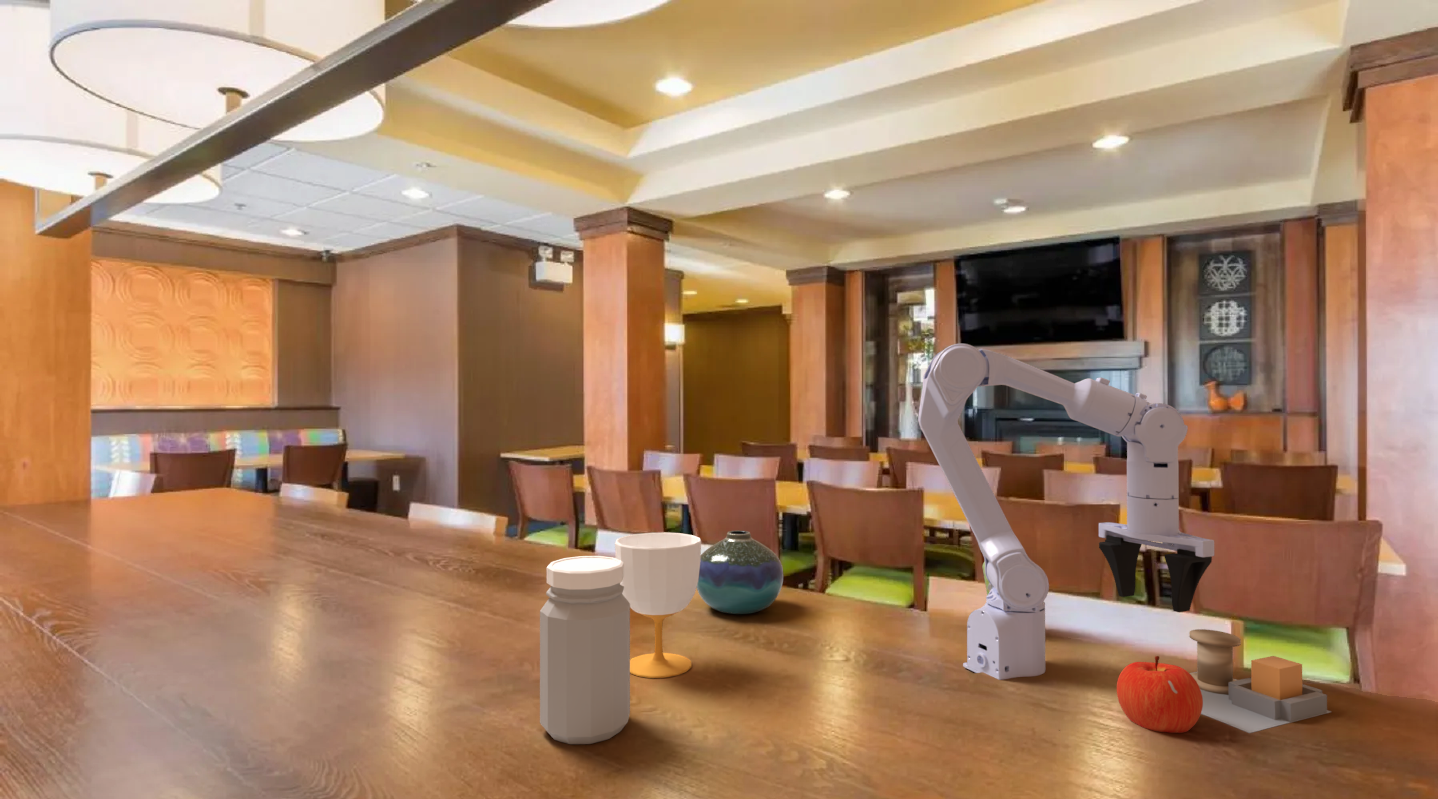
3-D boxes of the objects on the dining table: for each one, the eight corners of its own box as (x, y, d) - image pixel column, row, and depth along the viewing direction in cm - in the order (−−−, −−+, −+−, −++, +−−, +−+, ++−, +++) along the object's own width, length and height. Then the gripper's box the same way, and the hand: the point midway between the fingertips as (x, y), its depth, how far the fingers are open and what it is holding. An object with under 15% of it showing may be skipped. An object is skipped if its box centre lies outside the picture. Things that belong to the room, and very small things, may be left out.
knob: (1222, 697, 86) (1222, 645, 86) (1177, 680, 91) (1177, 631, 91) (1253, 690, 88) (1253, 639, 88) (1207, 674, 93) (1207, 626, 93)
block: (1279, 714, 81) (1279, 669, 81) (1251, 703, 84) (1251, 660, 84) (1302, 708, 83) (1302, 664, 83) (1273, 698, 86) (1273, 655, 86)
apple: (1217, 748, 75) (1216, 670, 75) (1132, 742, 76) (1131, 666, 76) (1182, 716, 83) (1181, 645, 83) (1105, 711, 84) (1105, 641, 84)
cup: (648, 646, 107) (648, 529, 107) (717, 660, 101) (717, 536, 101) (596, 671, 97) (596, 543, 97) (670, 688, 91) (670, 551, 91)
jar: (642, 713, 84) (642, 556, 84) (611, 752, 74) (611, 575, 74) (563, 705, 86) (563, 552, 86) (523, 743, 76) (523, 570, 77)
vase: (727, 593, 137) (727, 522, 137) (799, 606, 128) (799, 530, 128) (676, 612, 124) (676, 534, 125) (751, 628, 115) (751, 544, 116)
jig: (1249, 740, 77) (1249, 713, 77) (1130, 691, 90) (1130, 669, 90) (1332, 718, 82) (1332, 693, 82) (1208, 675, 95) (1208, 654, 95)
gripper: (1231, 502, 88) (1231, 614, 88) (1124, 489, 102) (1124, 586, 102) (1191, 505, 86) (1191, 621, 86) (1087, 491, 99) (1087, 591, 99)
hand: (1152, 603), depth 93 cm, fingers open, 7 cm apart
